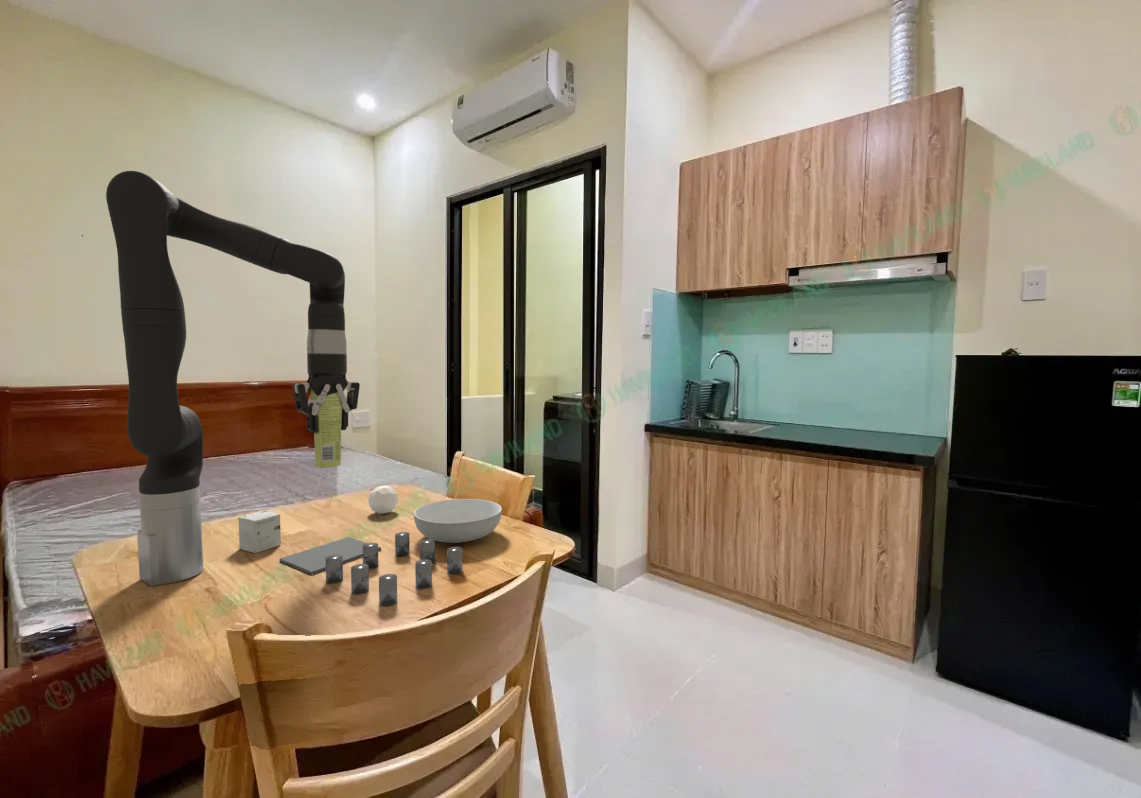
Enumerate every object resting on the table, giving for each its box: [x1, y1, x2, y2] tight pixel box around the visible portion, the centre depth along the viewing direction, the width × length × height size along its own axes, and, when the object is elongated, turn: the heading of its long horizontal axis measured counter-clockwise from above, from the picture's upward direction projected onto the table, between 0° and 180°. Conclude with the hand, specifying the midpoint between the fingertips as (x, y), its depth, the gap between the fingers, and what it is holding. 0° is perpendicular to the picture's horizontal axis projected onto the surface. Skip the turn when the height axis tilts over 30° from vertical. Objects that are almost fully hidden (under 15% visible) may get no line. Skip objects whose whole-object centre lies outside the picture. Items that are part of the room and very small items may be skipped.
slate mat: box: [279, 536, 382, 575], centre depth 110 cm, size 16×12×1 cm
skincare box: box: [238, 510, 282, 554], centre depth 115 cm, size 6×6×7 cm
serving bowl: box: [413, 498, 503, 544], centre depth 123 cm, size 21×21×7 cm
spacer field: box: [325, 531, 463, 607], centre depth 100 cm, size 19×19×4 cm
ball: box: [367, 484, 399, 515], centre depth 141 cm, size 8×8×8 cm
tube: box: [310, 389, 342, 469], centre depth 108 cm, size 6×5×20 cm
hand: (328, 431), depth 108 cm, fingers closed on tube, 6 cm apart
